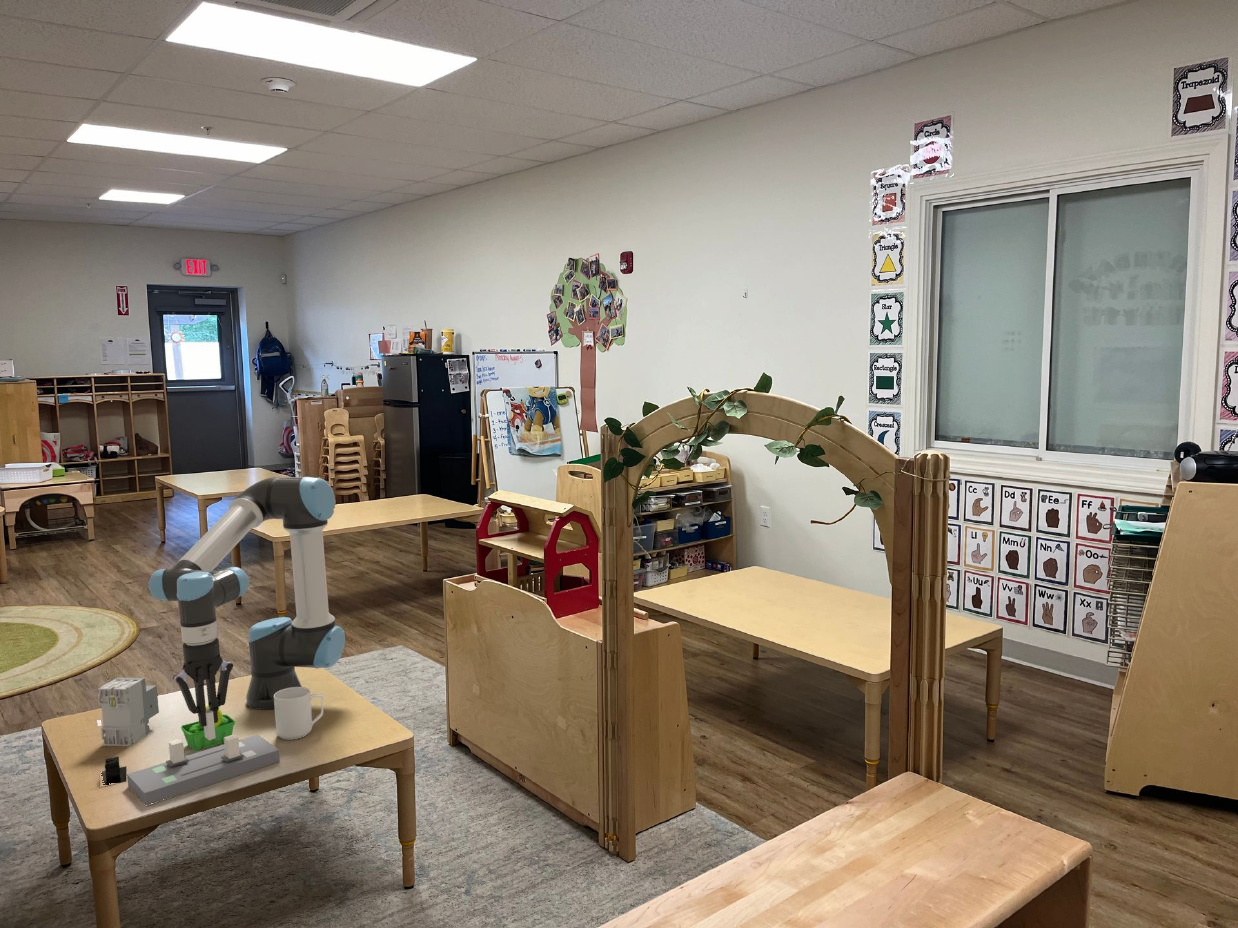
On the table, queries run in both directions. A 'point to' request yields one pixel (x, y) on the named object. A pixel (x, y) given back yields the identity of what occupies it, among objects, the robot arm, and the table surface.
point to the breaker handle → (176, 753)
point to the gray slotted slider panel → (200, 770)
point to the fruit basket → (197, 735)
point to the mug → (294, 712)
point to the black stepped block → (114, 771)
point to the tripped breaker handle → (231, 748)
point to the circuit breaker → (126, 710)
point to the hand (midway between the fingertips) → (210, 737)
